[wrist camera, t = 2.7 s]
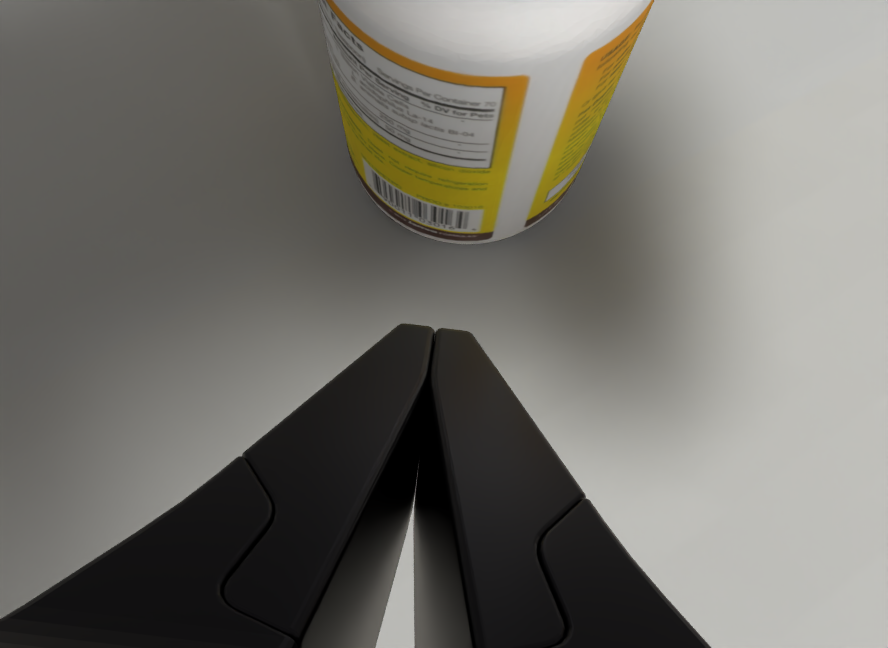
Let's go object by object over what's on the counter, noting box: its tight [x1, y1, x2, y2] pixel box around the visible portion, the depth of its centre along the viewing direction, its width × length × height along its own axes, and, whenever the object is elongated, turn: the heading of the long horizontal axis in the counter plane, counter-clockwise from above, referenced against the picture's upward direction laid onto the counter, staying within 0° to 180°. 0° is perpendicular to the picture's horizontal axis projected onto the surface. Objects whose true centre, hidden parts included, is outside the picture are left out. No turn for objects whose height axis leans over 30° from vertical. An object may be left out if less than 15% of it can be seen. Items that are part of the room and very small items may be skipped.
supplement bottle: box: [318, 0, 654, 244], centre depth 14 cm, size 6×6×10 cm
